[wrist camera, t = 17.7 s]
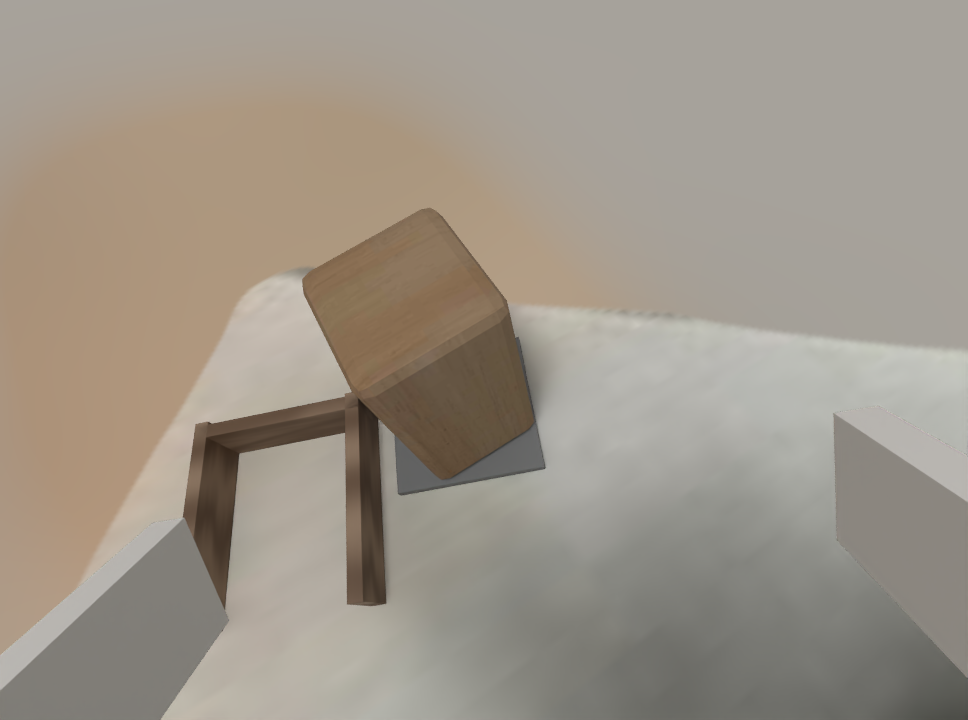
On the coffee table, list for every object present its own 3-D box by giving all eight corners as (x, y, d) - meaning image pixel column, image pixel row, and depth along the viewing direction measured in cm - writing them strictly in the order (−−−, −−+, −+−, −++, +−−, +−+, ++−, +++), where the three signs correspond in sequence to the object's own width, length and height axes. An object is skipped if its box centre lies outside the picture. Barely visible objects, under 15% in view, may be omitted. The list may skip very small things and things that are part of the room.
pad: (545, 468, 44) (544, 466, 44) (400, 495, 45) (398, 493, 45) (519, 341, 50) (518, 337, 50) (392, 367, 51) (390, 363, 51)
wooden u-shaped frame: (385, 603, 41) (362, 601, 37) (209, 633, 43) (166, 634, 38) (377, 411, 49) (357, 391, 45) (229, 441, 51) (195, 424, 46)
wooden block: (394, 398, 49) (290, 274, 31) (483, 345, 50) (431, 196, 32) (442, 487, 44) (351, 399, 27) (539, 426, 45) (513, 303, 28)
